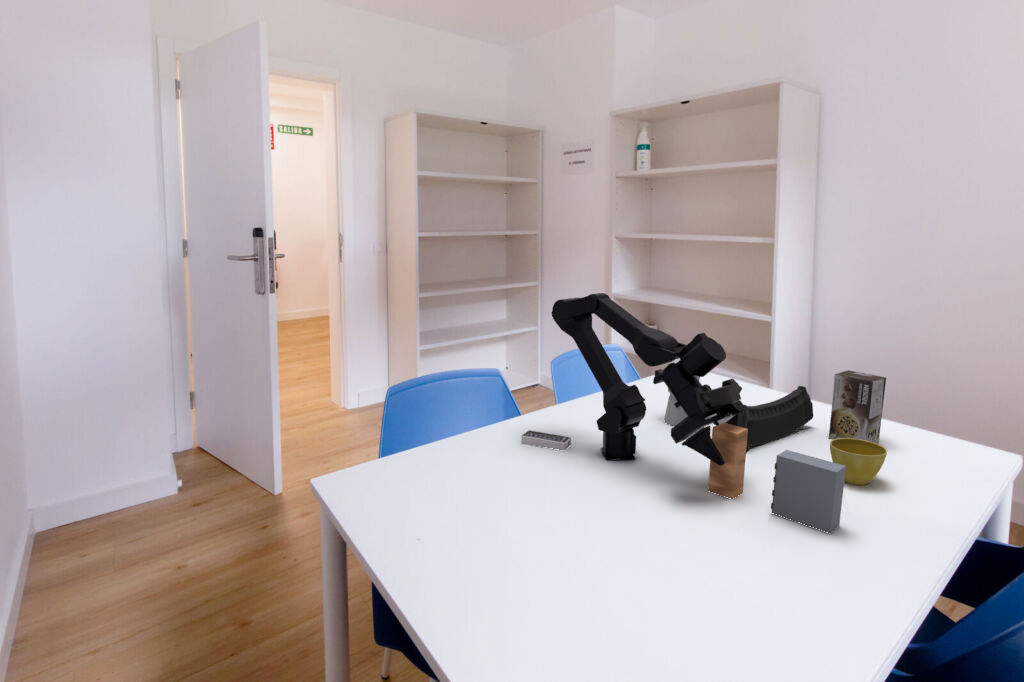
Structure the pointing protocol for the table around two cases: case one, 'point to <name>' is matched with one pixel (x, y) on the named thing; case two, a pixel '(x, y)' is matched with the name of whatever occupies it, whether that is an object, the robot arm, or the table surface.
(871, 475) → the yellow bowl
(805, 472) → the grey flat block
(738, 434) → the wooden post
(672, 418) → the coffee maker
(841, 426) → the coffee box
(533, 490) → the table surface
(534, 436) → the multiport hub
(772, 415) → the magazine
